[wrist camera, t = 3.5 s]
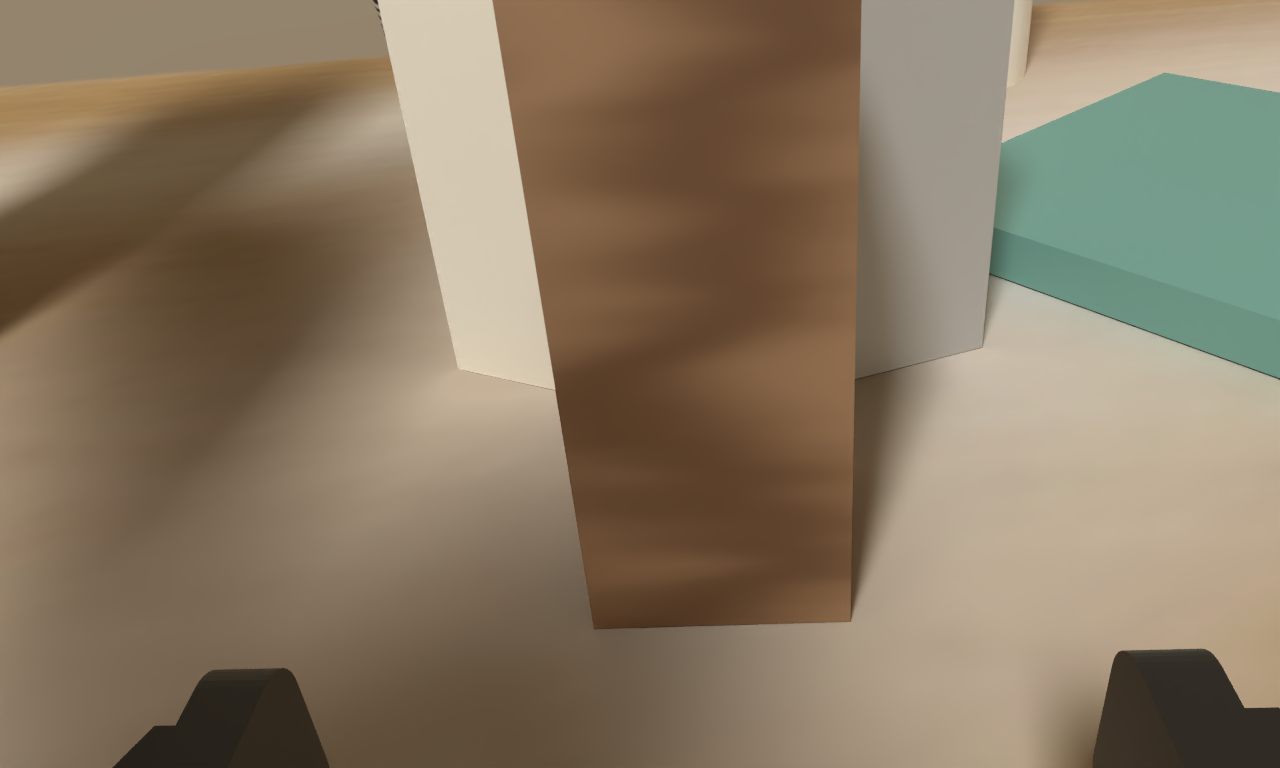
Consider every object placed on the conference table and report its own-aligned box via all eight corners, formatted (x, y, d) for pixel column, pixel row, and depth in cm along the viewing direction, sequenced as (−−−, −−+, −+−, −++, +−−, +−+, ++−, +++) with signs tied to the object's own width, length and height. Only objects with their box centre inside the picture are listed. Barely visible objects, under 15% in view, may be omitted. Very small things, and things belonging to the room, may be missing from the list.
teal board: (885, 235, 35) (886, 192, 34) (1158, 110, 42) (1164, 72, 41) (1435, 434, 23) (1456, 377, 22) (1674, 214, 31) (1696, 165, 30)
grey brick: (811, 390, 27) (808, -117, 21) (740, 308, 31) (719, -136, 25) (982, 347, 28) (1028, -149, 22) (891, 273, 32) (908, -162, 26)
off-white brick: (458, 369, 30) (358, -86, 23) (551, 291, 33) (486, -121, 27) (610, 402, 28) (545, -91, 21) (691, 315, 31) (658, -128, 25)
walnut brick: (593, 628, 21) (491, -3, 14) (613, 475, 25) (540, -65, 19) (850, 621, 20) (861, -35, 14) (825, 465, 24) (825, -91, 18)
